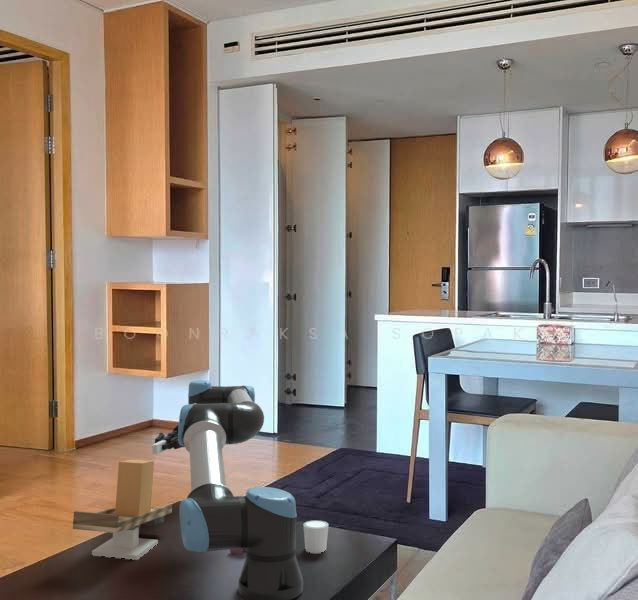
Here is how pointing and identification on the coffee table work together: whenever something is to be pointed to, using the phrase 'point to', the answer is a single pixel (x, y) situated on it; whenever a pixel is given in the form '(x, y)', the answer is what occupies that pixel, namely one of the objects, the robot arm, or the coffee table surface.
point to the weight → (134, 487)
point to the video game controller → (237, 550)
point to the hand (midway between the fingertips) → (154, 449)
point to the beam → (117, 519)
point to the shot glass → (315, 536)
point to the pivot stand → (125, 545)
